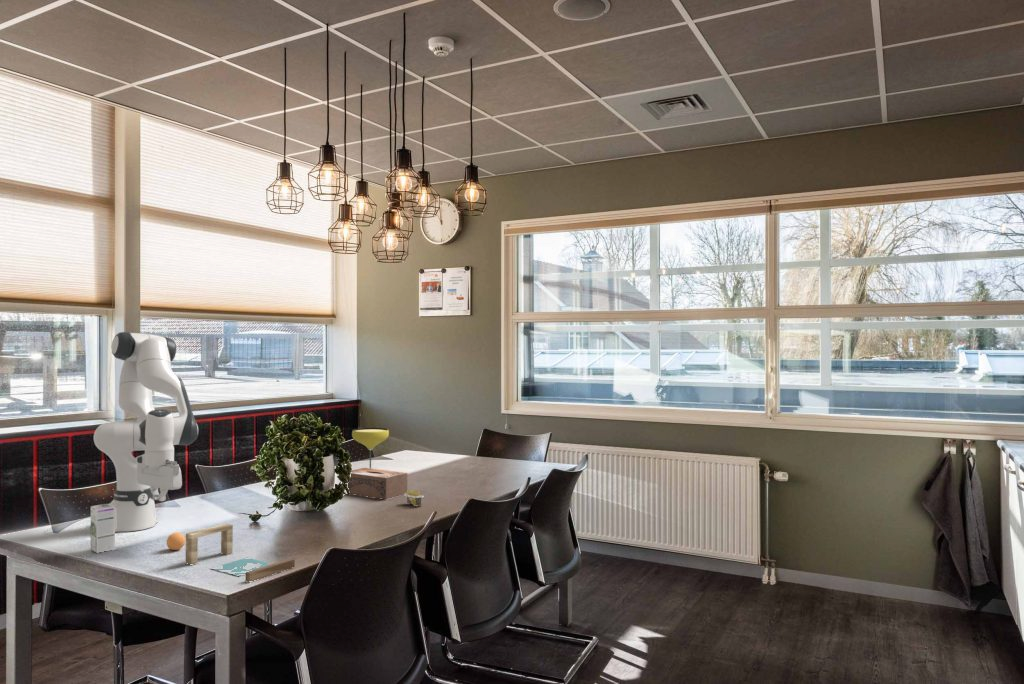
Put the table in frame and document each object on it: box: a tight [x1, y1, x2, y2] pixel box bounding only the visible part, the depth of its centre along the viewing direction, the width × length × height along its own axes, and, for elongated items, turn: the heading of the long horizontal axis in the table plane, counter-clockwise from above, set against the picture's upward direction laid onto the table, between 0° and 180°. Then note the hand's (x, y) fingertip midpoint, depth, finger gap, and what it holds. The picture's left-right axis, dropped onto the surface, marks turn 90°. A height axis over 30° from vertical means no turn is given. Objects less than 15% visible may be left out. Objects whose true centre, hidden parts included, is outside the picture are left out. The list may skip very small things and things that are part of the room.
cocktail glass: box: [351, 427, 390, 469], centre depth 353 cm, size 18×18×25 cm
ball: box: [166, 532, 186, 551], centre depth 231 cm, size 6×6×6 cm
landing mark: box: [213, 557, 272, 577], centre depth 213 cm, size 13×13×1 cm
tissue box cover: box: [348, 467, 408, 500], centre depth 320 cm, size 26×14×10 cm, turn 60°
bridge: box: [185, 523, 234, 565], centre depth 222 cm, size 3×14×9 cm, turn 149°
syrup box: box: [90, 503, 116, 554], centre depth 230 cm, size 6×6×14 cm
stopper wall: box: [245, 557, 295, 582], centre depth 207 cm, size 2×16×2 cm, turn 149°
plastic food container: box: [403, 489, 425, 507], centre depth 297 cm, size 12×18×7 cm, turn 55°
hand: (159, 500), depth 236 cm, fingers closed
